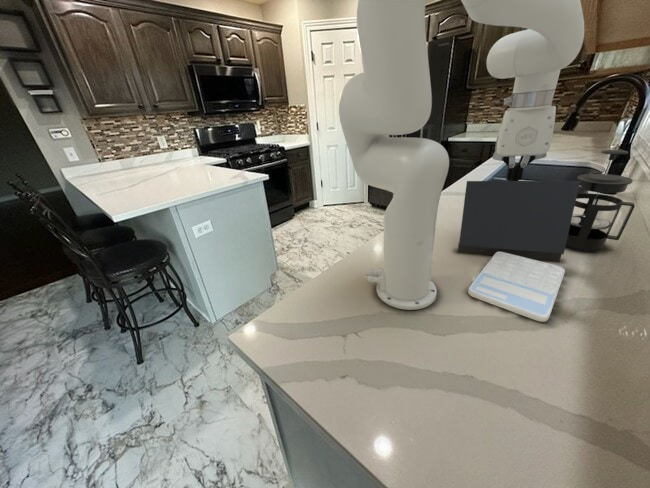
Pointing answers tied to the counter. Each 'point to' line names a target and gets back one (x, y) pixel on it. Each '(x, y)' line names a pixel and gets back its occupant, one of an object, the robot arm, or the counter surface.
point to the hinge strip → (519, 253)
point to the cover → (518, 215)
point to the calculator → (519, 285)
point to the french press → (597, 209)
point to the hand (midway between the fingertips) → (512, 182)
